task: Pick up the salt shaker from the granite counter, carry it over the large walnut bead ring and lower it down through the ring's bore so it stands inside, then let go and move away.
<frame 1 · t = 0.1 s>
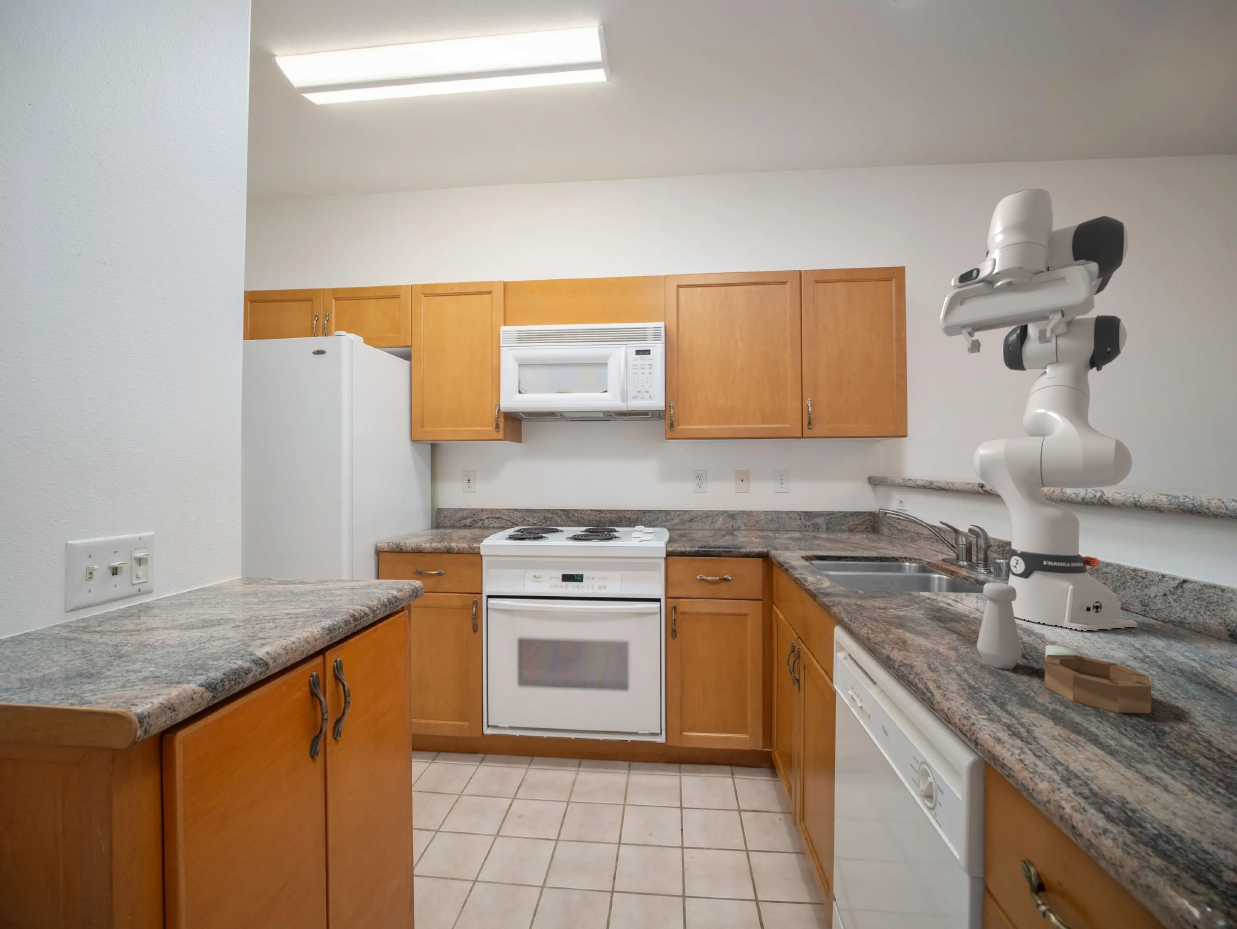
hand: (1007, 346, 81), 52 cm above the table, tool tilted 20°, fingers open, 8 cm apart
walnut ring: (1094, 694, 70), on the table
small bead: (1063, 668, 79), on the table
salt shaker: (998, 665, 80), on the table
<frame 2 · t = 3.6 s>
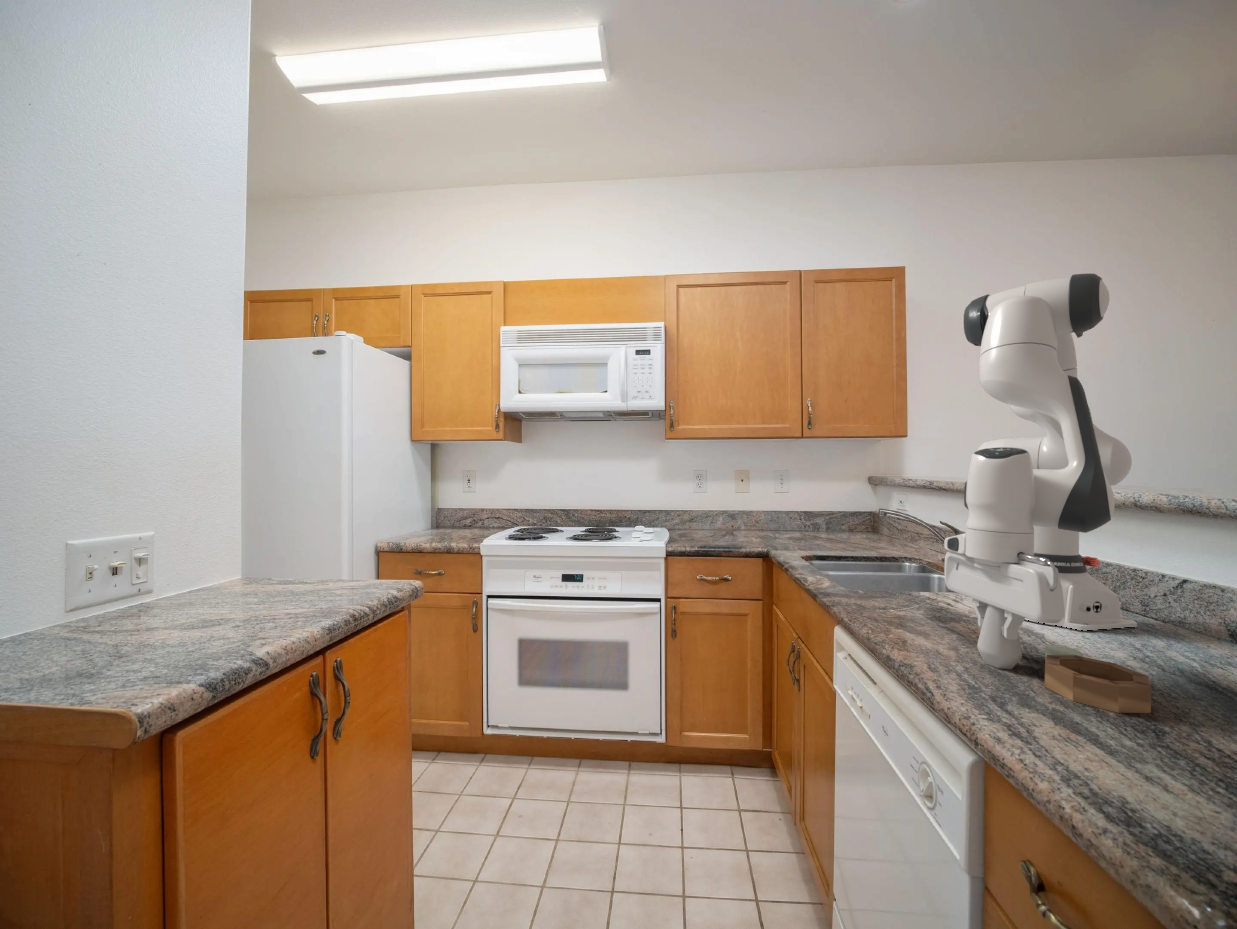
hand: (997, 633, 80), 5 cm above the table, tool pointing down, fingers closed on salt shaker, 3 cm apart
salt shaker: (998, 665, 80), on the table, touching gripper
everything else where it was.
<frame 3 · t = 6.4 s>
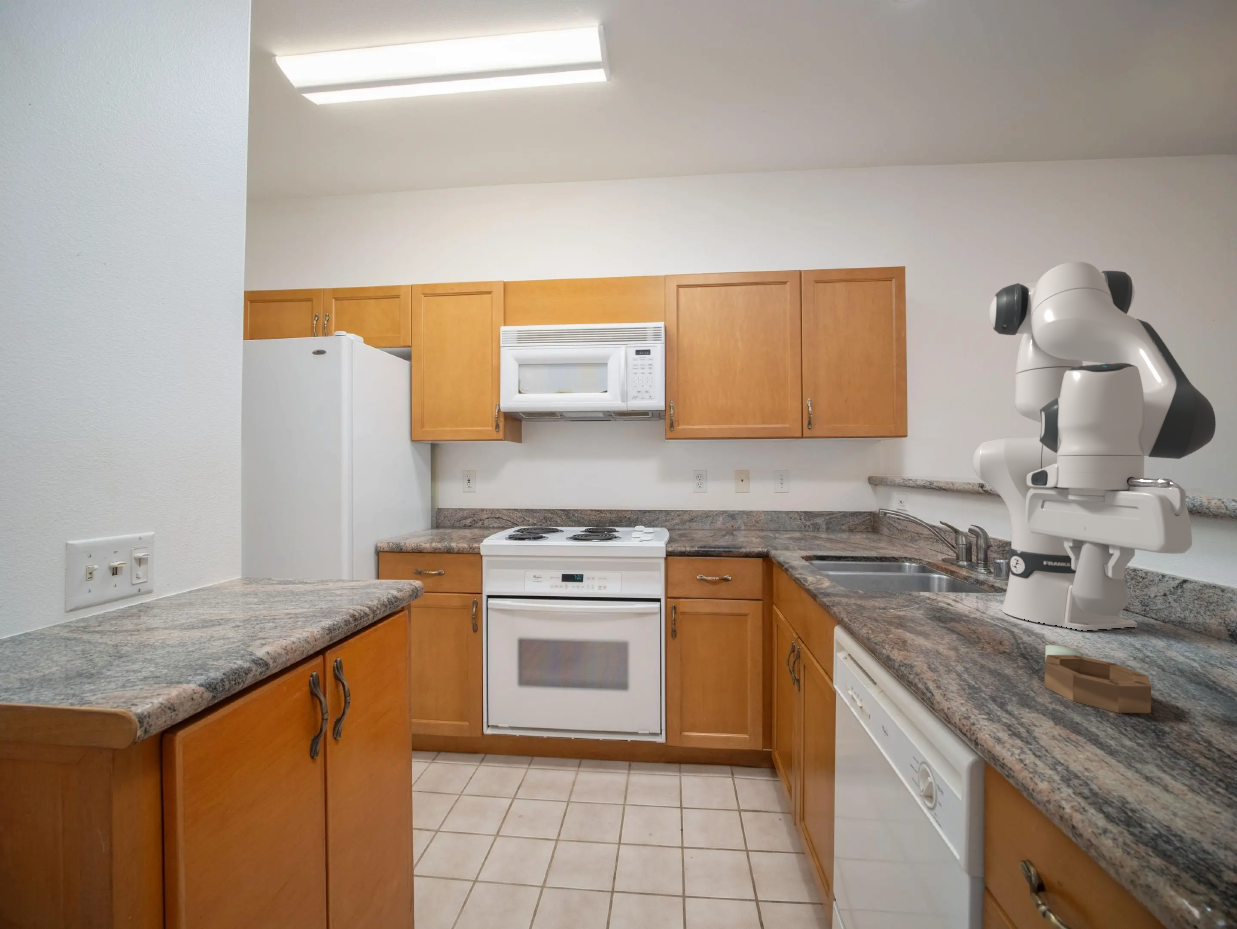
hand: (1096, 574, 70), 17 cm above the table, tool pointing down, fingers closed on salt shaker, 3 cm apart
salt shaker: (1099, 613, 70), point 11 cm above the table, touching gripper
everything else where it was.
when the fingers open (6 cm above the table, at t = 8.9 s): salt shaker stays where it is, resting in walnut ring.
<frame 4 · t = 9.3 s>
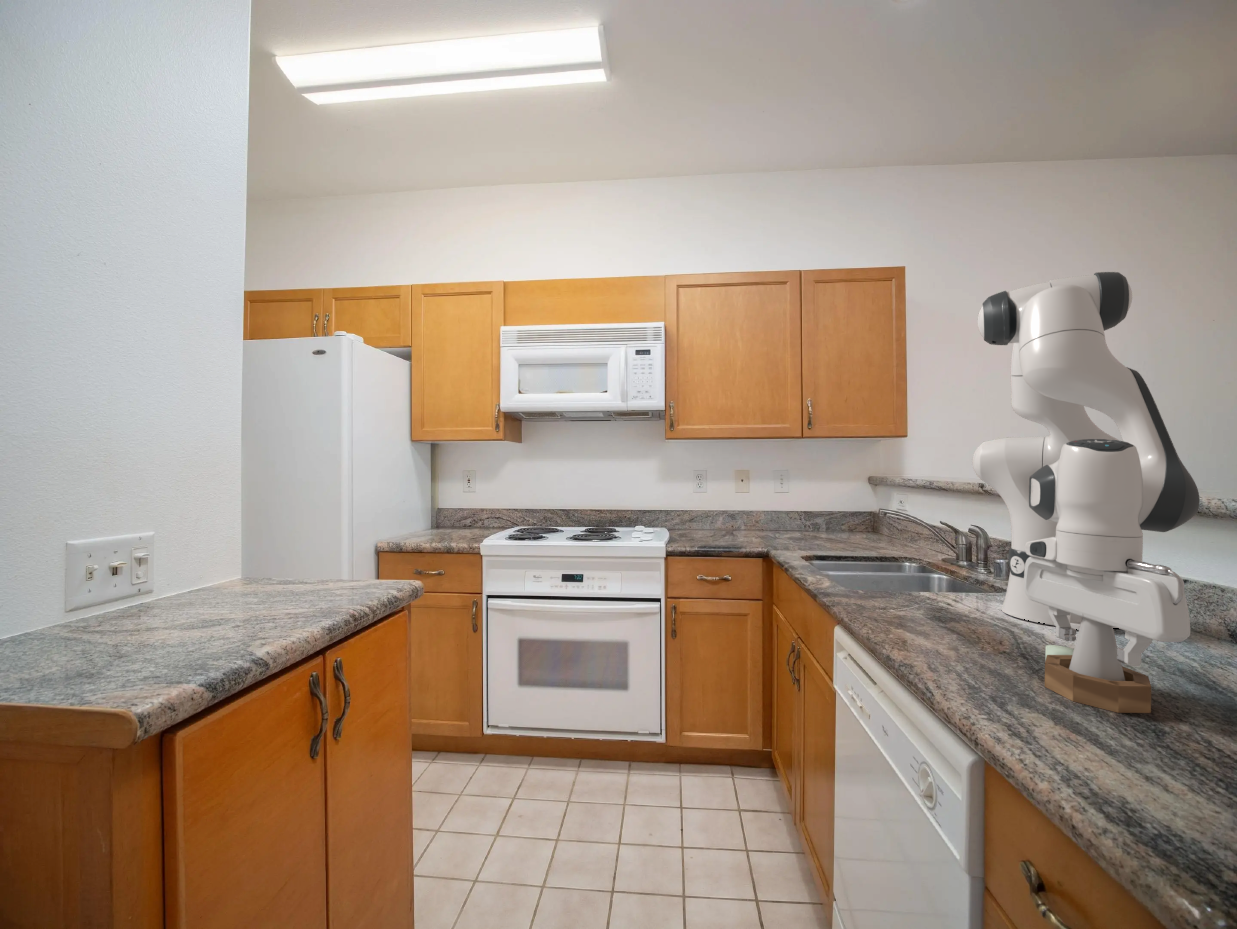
hand: (1095, 651, 70), 6 cm above the table, tool pointing down, fingers open, 8 cm apart
salt shaker: (1096, 695, 70), resting in walnut ring
everything else where it was.
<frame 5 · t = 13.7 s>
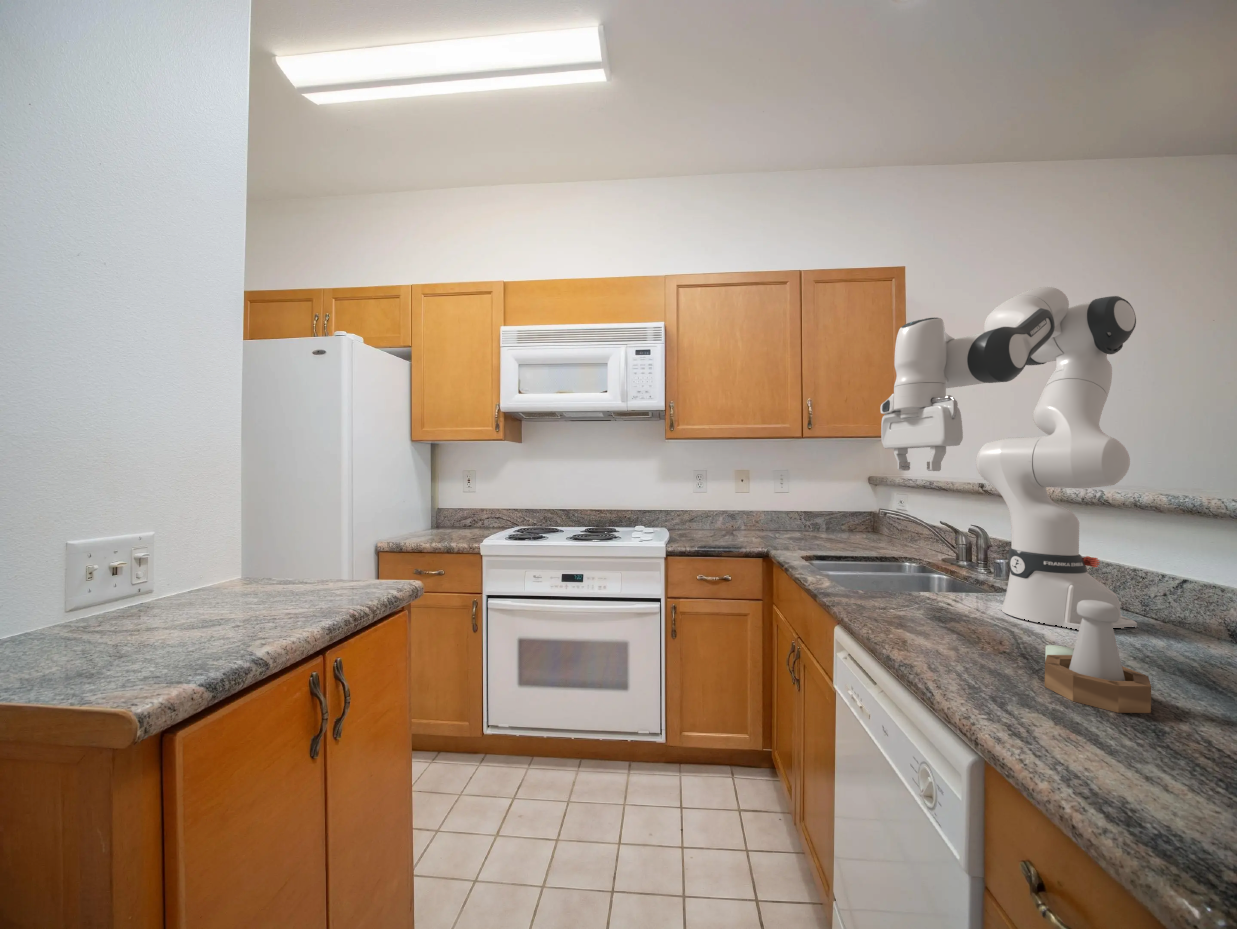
hand: (918, 470, 97), 31 cm above the table, tool pointing down, fingers open, 8 cm apart
nothing on the table moved.
at the end: salt shaker 0.3 cm off-centre on the walnut ring, point 0.0 cm above the walnut ring's base; salt shaker tilted 0°; the gripper is holding nothing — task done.
